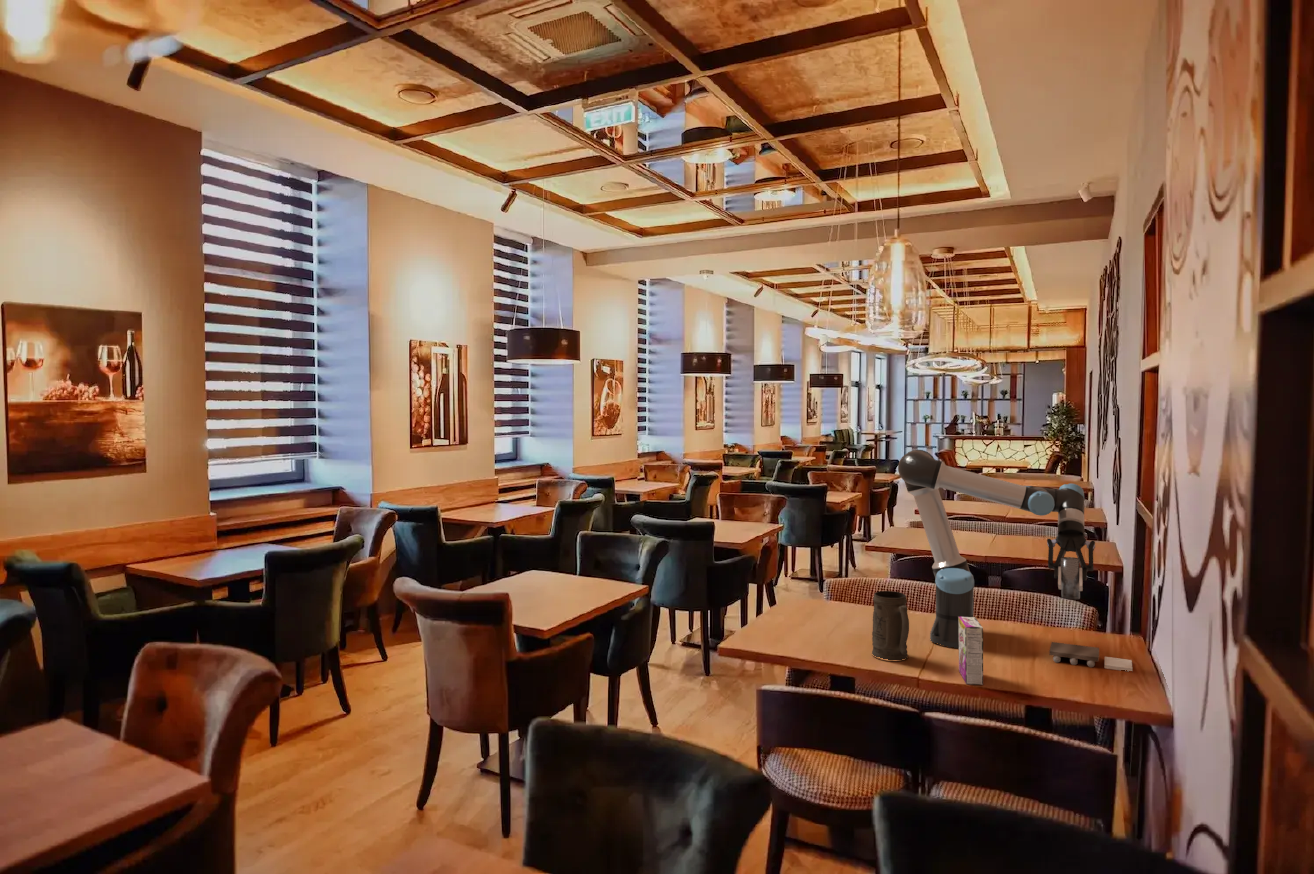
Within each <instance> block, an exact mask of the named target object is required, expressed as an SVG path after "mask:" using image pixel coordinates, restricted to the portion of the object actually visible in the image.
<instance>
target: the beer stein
mask: <svg viewBox="0 0 1314 874" xmlns="http://www.w3.org/2000/svg"><path fill="white" fill-rule="evenodd" d="M907 600H908V599H907V595H906V594H904V593H902V592H899V591H894V590H893V591H892V590H880V591H877V592H876V591H875V592H874V595H873V612H872V632H871V633H872V634H871V635H872V638H871V640H872V651H871V655H872V654H873V655H874V656H876V657H880V658H883V659H888V660H902V659H905V658H907V657H908V658H909V655H908V644H907V642H908V639H909V632H910V620H909V614H908V605H907V602H908V601H907ZM873 655H872V656H873ZM874 656H873V657H874ZM908 658H907V659H908Z"/></svg>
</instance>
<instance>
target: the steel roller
mask: <svg viewBox="0 0 1314 874" xmlns="http://www.w3.org/2000/svg"><path fill="white" fill-rule="evenodd" d="M1060 567H1061V589H1060V590H1061V598H1063V599H1065V600H1080V599H1081V591H1080V588H1079V568H1080V563H1079V558H1078V557H1072V556H1064V557H1062V558H1061V566H1060Z"/></svg>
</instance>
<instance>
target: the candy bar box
mask: <svg viewBox="0 0 1314 874" xmlns="http://www.w3.org/2000/svg"><path fill="white" fill-rule="evenodd" d="M958 620H959V621H958V623H959V648H958V672H959V673H960V675H961V677H962V679H963V682H964V683H965V684H966V685H973V686H976V685H977V686H984V627H983V626H982V625H981V623H980V622H979V620H978V619H977V618H976V617H975V616H973V617H958Z"/></svg>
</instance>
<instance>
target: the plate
mask: <svg viewBox="0 0 1314 874" xmlns="http://www.w3.org/2000/svg"><path fill="white" fill-rule="evenodd" d="M1104 669H1108V670H1116V671H1121V670H1125V671H1124V672H1129V671H1132V672H1133V661H1132V659H1126V658H1119V657H1118V658H1117V657H1111V656H1104ZM1126 670H1127V671H1126Z"/></svg>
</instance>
